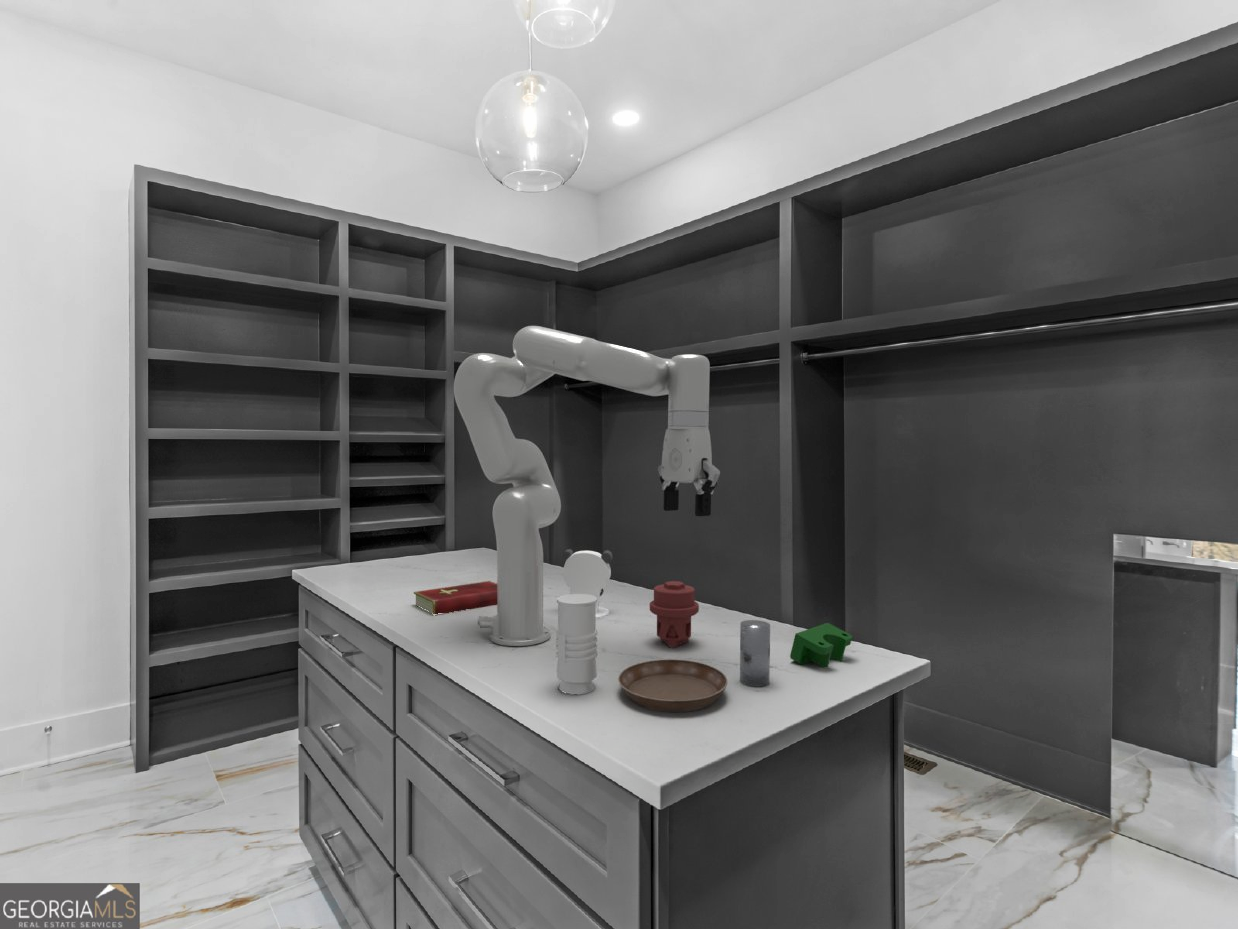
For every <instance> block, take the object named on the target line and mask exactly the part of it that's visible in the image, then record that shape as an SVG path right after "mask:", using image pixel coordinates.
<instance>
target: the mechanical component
mask: <svg viewBox="0 0 1238 929" xmlns="http://www.w3.org/2000/svg"><path fill="white" fill-rule="evenodd" d="M695 594H696V590H695V587H693V586H691V585H687V584H684V582H683V581H677V580H676V581H675V580H673V581H665V582H664V584H659V585H656V586H654V587H653V600H651V602H649V611H650V612H651V613H652V614H653V615H656V636H657V637H658V638H659V639H660V641H661V640H662V641H661V642H664V643H666V644H667V646H668V648H670V647H675V648H676V647H677V646H679V645H681V644H680V643H682V644H686V643H685V642H687V643H689V641H690V638H691V637H692V617H693V616H695V615H697V614H699V612H700V611H699V610H700V608H699V606H700V604H699V603H698V602H697V601H695V600H696V596H695Z"/></svg>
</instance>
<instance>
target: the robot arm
mask: <svg viewBox="0 0 1238 929" xmlns="http://www.w3.org/2000/svg"><path fill="white" fill-rule="evenodd" d="M512 351H513V353H514V356H512V357H507V356H504V355H503V356H502V355H499V354H495V353H487V352H486V353H485V352H481V353H480V352H479V353H474V354H472V355H469V356H467V358H465V359H464V360H463V362H461V363H460V365H459V366H458V369H457V371H456V373H455V377H454V382H453V395H454V399H455V404H456V406H457V408H458V411H459V414H460V415H461V419H463V422H464V424H465V426H466V429H467V431H468V434H469V437H470V441H471V443H472V446H473V448H474V452H475V454H476V456H477V459H478V461H479V462H478V463H479V464H480V467H481V470H482V471H483V472H482V473H484V476H485V477H486V478H487V479H488V480H489V481H490V482H491V483H494V484H499V485H500V484H501V485H504V484H512V486H513V487H509V488H507V489H506V490H503V491H502V492H501V493H500V494H499V495H498V496H496V499H495V501H494V503H493V507H492V522H493V527H494V532H495V540H496V570H497V572H496V574H497V575H496V577H497V578H496V583H497V605H496V606H497V607H496V612H497V613H496V614H495V615H493V616H484V615H483V616H482V615H481V616H478V618H477V625H478V626H479V627H480V629H488V628H490V629H491V631H490V632H489V640H490V641H491V642H492V643H495V644H497V645H501V646H508V647H527V646H533V645H537V644H538V645H539V644H540V643H541V644H542V643H545V642H546V641H548V640H549V639H550V638H551V632H552V631H551V629H550V628H548V627H547V626H544V547H543V542H542V539H541V536H540V531H539V530H540V529H541V528H545V527H548V526H550V525H552V524H553V523H555V522H556V520H557V519H558V518H559V516H560V513H561V509H562V503H561V497H560V494H559V492H558V489H557V486H556V483H555V481H554V480H555V479H554V478H553V476H552V474H551V471H550V469H549V466H548V463H547V461H546V458H545V456H544V455H543V452H542V451H541V449H540V448H539V447H538V445H536V444H535V443H534V442H532V441H530V440H528V439H523V438H521V439H520V438H516V437H515V434H514V433H513V431H512V429H511V426H510V424H509V421H508V420H509V419H508V418H507V416H506V414H505V412H504V411H503V409H502V408H501V406H500V405H499V404H498V402H497V401H496V398H495V396H498V397H505V398H515V397H518V396H521V395H523V394H525V393H527V392H529V391H530V390H532V389H533V388H535V387H537V386H538V385H540V384H542V383H543V382H544V381H546V380H548V379H549V378H551V377H553V376H554V375H555V374H556V375H559V376H563V377H566V378H567V377H568V378H571V379H575V380H578V381H582V382H585V381H586V382H587V381H590V382H595V383H598V384H602V385H606V386H610V387H614V388H616V389H622V390H625V391H629V392H633V393H636V394H642V395H645V396H651V397H659V396H660V397H661V396H666V395H668V404H667V405H668V408H667V409H668V413H667V414H668V415H667V416H668V417H667V419H668V420H667V429H665V434H664V439H663V444H662V445H663V446H662V456H661V464H660V465H659V466H658V467H657V471H658V474H659V480H660V483H661V484H662V485H661V489H662V490H663V511H665V512H667V511H668V512H669V511H672V512H673V511H678V510H679V505H680V504H679V500H680V499H679V498H680V497H679V496H680V494H679V493H680V491H679V489H677V488H678V487H679V485H680V483H681V484H690V483H691V484H692V483H693V485H694V487H695V489H696V491H697V493H696V494H695V502H694V504H695V505H694V515H695V516H696V517H709V516H711V515H712V512H711V511H712V495H713V494H714V491H715V488H716V487H717V486H718V480H719V477H720V474H721V471H720V469H718V468H717V467H716V466H715V465H714V464H713V463H712V462H713V461H712V458H713V457H712V455H713V453H712V441H711V433H710V429H709V416H710V415H709V413H710V412H709V411H710V410H709V409H710V405H709V404H710V368H711V367H710V366H711V365H710V364H711V363H710V361H709V358H708V357H706V356H705V355H701V354H691V353H690V354H687V353H686V354H677V355H675V356H672V357H671V358H665V357H659V356H657V355H654V354H652V353H649V352H646V351H643V350H638V349H634V348H630V347H625V346H621V345H617V344H613V343H608V342H603V341H600V340H596V339H595V338H593V337H592V338H591V337H588V336H582V335H578V334H574V333H571V332H565V331H563V330H562V331H561V330H557V329H553V328H548V327H544V326H539V325H528V326H525V327H523V328H521V329H519V330H518V331H517V332H516V334H515V335H514V337H513V340H512Z"/></svg>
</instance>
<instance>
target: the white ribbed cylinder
mask: <svg viewBox="0 0 1238 929" xmlns="http://www.w3.org/2000/svg"><path fill="white" fill-rule="evenodd" d="M596 602H597V597H595V596H592V595H588V594H564V595H559V596H558V597H557V598H556V603H557V610H558V611H557V613H558V614H557V630H556V631H555V634H556V638H555V643H556V645H555V648H556V649H555V650H556V652H555V655H556V656H555V657H556V658H557V664H556V665H557V666H556V679H558V680H559V681H561V682H560V684H559V687H558V689H560V690H561V691H564V692H566V693H570V694H569V695H574V694H577V696H579V695H585V694H589V693H590V692H592V691H594V690H595V685H594V683H593V681H594V680H595V679H596V678H597V676H598V671H597V656H598V651H597V650H598V644H597V643H598V630H597V629H596V628H597V627H596V626H597V625H596V620H597V619H596ZM560 690H559V691H560ZM561 691H560V692H561ZM566 693H565V694H566Z"/></svg>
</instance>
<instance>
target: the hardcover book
mask: <svg viewBox="0 0 1238 929" xmlns="http://www.w3.org/2000/svg"><path fill="white" fill-rule="evenodd" d="M413 595H415V606H416V605H417V606H420V607H422V608H423V609H426V610H428V611H429V612H431V613H433V614H438V613H447V614H450V613H449V612H452V613H455V612H454V611H458V612H462V611H461V610H464V611H467V610H466V609H470V610H473V609H474V610H476V609H481V608H486V607H491V606H492V607H493V606H497V582H495V581H494V582H493V581H491V580H486V581H479V582H471V583H465V584H459V585H451V586H446V587H439V588H431V589H425V590H417V591H413ZM417 606H416V607H417ZM423 609H422V610H423ZM429 612H428V613H429ZM431 613H430V614H431ZM433 614H432V615H433Z"/></svg>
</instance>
